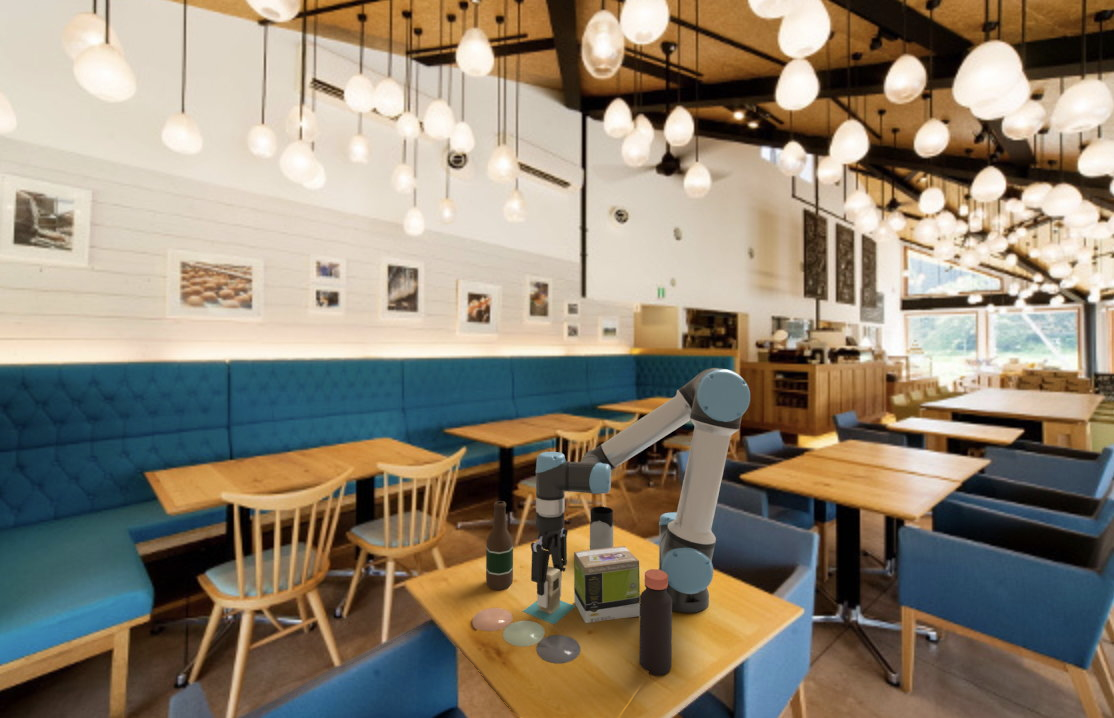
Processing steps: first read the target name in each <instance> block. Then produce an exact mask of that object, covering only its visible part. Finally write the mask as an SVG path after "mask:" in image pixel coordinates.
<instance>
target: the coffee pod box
mask: <svg viewBox="0 0 1114 718" xmlns="http://www.w3.org/2000/svg"><path fill="white" fill-rule="evenodd" d="M573 572H574V573H573V580H574V581H573V585H574V586H573V590H574V594H573V595H574V604H575V607H577V610H578V612H579V613H580V614H579V615H581V617H582V619H583V621H584V623H586V624H589V623H595V622H601V621H609V620H616V619H624V618H627V619H628V618H629V619H630V618H635V617H640V595H641V591H640V590H641V589H640V588H641V586H640V582H641V581H640V576H641V575H640V560H638V558H637V557H636V556H635V555H634V554H633V553H632V552H631V551H630V550H629V549H628V548H627V547H626V546H625V545H621V546H613V547H612V548H604V549H594V550H590V549H589V550H588V549H587V550H582V551H574V553H573Z"/></svg>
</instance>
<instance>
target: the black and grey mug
mask: <svg viewBox="0 0 1114 718" xmlns="http://www.w3.org/2000/svg"><path fill="white" fill-rule="evenodd" d="M612 547H614V510H613V508H610V507H608V506H607V505H606V506H594V507H592V508H590V522H589V550H594V549H604V548H612Z"/></svg>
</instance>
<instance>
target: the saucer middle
mask: <svg viewBox="0 0 1114 718" xmlns="http://www.w3.org/2000/svg"><path fill="white" fill-rule="evenodd" d="M545 634H546V631H545V628H544V627H543V626H542V625H541V624H540V623H538V622H535V621H530V620H519V621H518V620H517V621H515V622H511V623H510V625H508V626H507V627H505V628H503V631H502V637H503V639H504V641H505V642H506V643H508V644H510V645H512V646H516V647H530V646H533V645H537V644H538V643H539V642H540V641H541V640H542V639H543V638H545Z"/></svg>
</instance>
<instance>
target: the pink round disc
mask: <svg viewBox="0 0 1114 718" xmlns="http://www.w3.org/2000/svg"><path fill="white" fill-rule="evenodd" d="M513 620H514V619H513V614H512V613H511V612H510V611H509V610H508V609H505V608H501V607H489V608H485V609H482V610H480V611H478V612H476V614H475V615H473V617H472V621H471V622H472V627H473V628H474V629H475V630H476V631H477V630H481V631H484V632H496V631H497V632H498V631H501V630H504V629H505V628H506V627H507V626H508V625H510V624H512V623H513Z"/></svg>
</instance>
